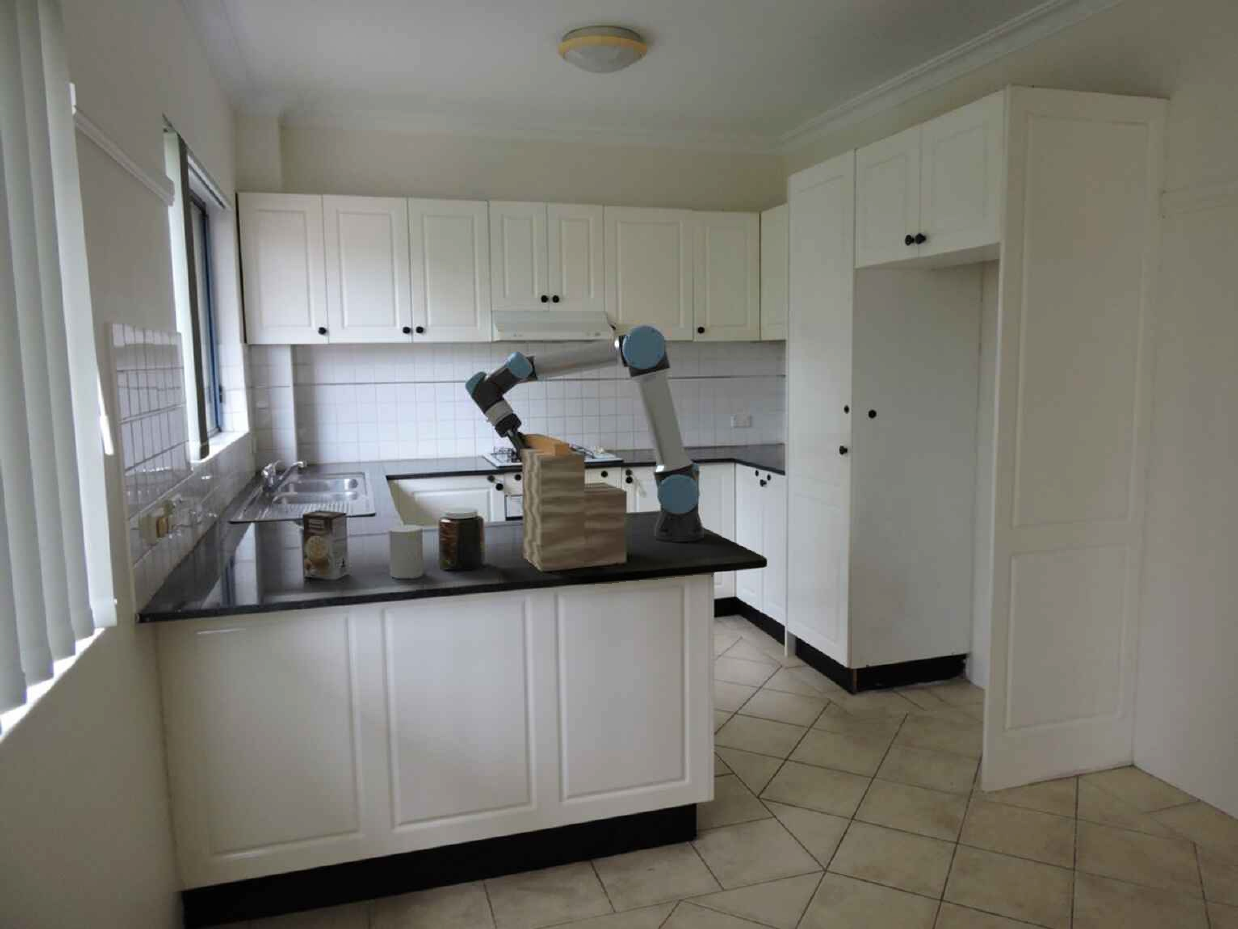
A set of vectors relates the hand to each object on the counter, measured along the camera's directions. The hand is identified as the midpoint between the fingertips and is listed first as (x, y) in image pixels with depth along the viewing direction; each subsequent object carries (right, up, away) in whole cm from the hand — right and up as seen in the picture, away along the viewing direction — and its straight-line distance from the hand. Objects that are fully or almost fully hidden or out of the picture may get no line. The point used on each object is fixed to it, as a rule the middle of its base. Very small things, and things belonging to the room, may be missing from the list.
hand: (546, 478), depth 241 cm
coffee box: (-53, -24, -27) cm, 65 cm away
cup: (-33, -24, -26) cm, 49 cm away
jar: (-21, -23, -17) cm, 36 cm away
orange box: (+1, +8, -12) cm, 15 cm away
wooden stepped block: (+8, -22, -10) cm, 26 cm away
